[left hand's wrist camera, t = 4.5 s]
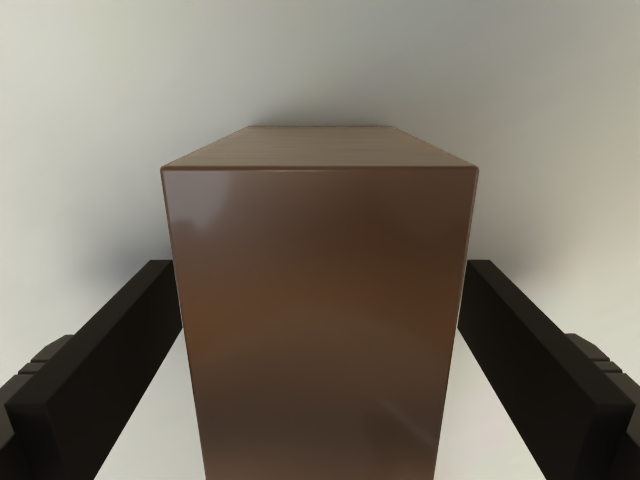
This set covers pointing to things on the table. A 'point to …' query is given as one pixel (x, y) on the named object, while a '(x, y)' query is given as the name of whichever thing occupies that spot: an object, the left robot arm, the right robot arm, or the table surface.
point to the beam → (319, 298)
